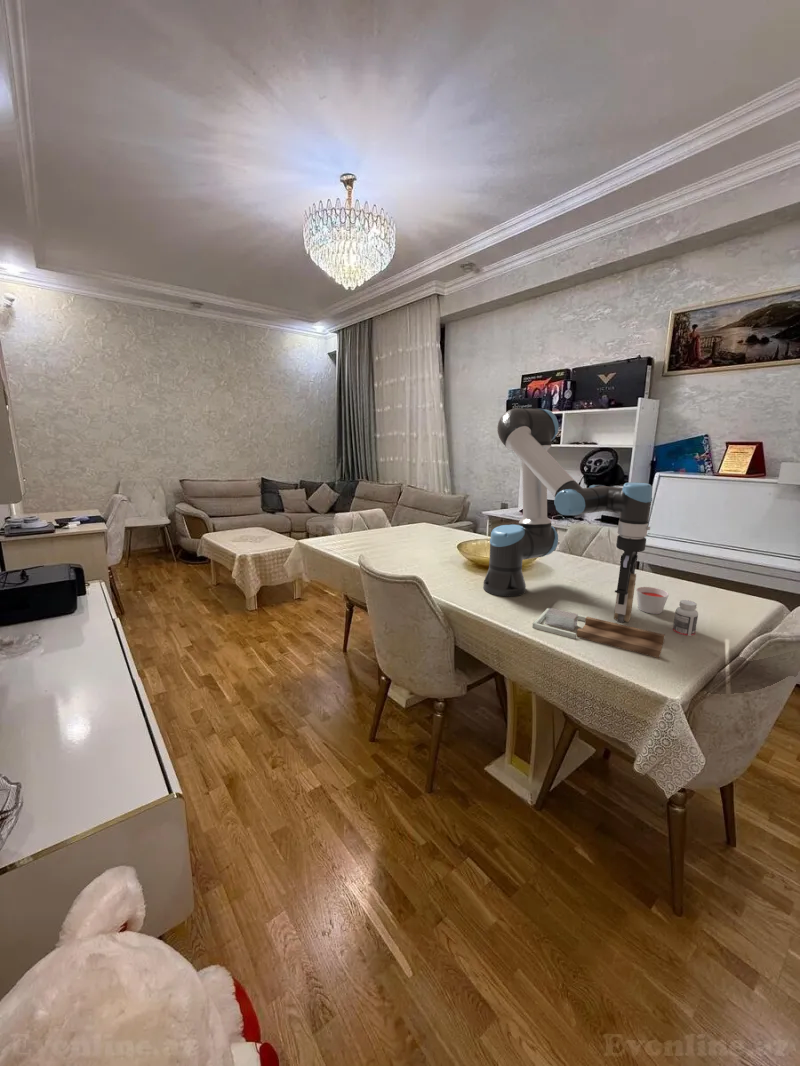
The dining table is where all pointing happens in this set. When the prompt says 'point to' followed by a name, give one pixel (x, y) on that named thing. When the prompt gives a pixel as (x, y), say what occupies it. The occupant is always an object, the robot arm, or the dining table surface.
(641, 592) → the white round cup
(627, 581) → the robot arm
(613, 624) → the slot board
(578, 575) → the dining table surface
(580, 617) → the tray
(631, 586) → the tapered wooden board
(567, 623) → the pinkish grey cube
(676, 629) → the pill bottle
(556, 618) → the grey cube
